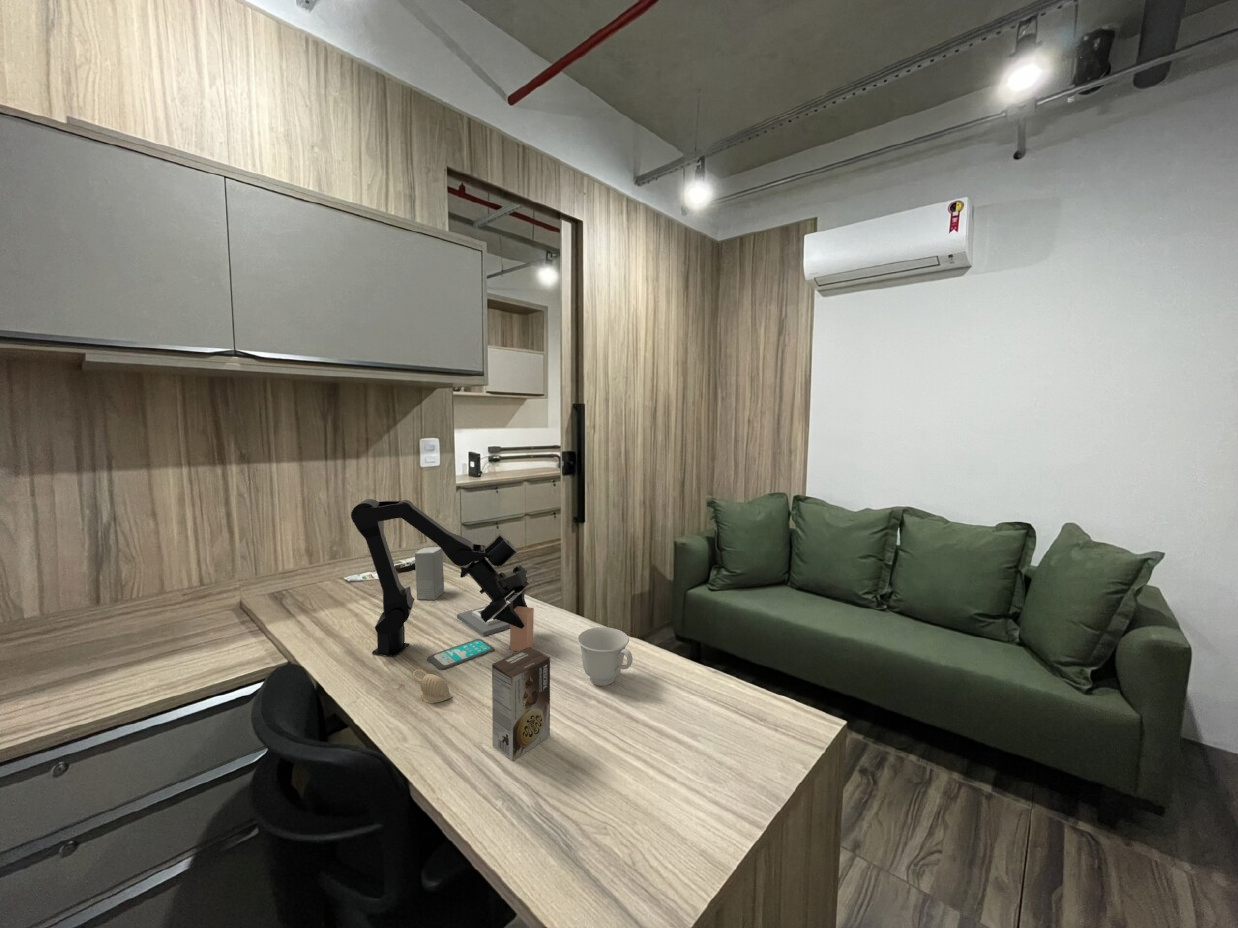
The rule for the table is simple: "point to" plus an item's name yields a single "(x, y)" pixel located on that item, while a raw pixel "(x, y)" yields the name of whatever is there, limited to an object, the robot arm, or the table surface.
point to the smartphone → (460, 654)
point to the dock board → (482, 622)
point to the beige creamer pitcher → (432, 688)
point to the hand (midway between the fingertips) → (527, 623)
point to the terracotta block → (525, 635)
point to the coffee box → (520, 702)
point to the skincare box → (429, 573)
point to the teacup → (604, 653)
